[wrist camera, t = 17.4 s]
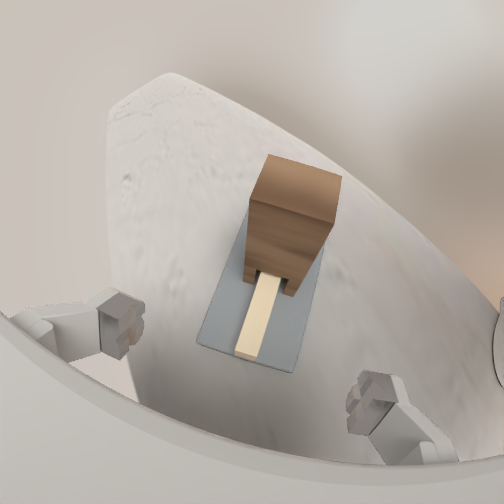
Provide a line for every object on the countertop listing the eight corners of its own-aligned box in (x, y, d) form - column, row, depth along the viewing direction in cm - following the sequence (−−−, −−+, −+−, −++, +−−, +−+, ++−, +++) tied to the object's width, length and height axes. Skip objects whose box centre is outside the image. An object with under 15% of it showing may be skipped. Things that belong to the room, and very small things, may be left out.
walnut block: (255, 246, 32) (268, 154, 20) (302, 261, 32) (342, 176, 20) (242, 281, 30) (249, 198, 18) (293, 297, 30) (334, 224, 18)
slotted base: (255, 196, 37) (257, 172, 33) (328, 218, 36) (338, 196, 32) (197, 343, 28) (191, 334, 24) (290, 373, 27) (300, 369, 23)
